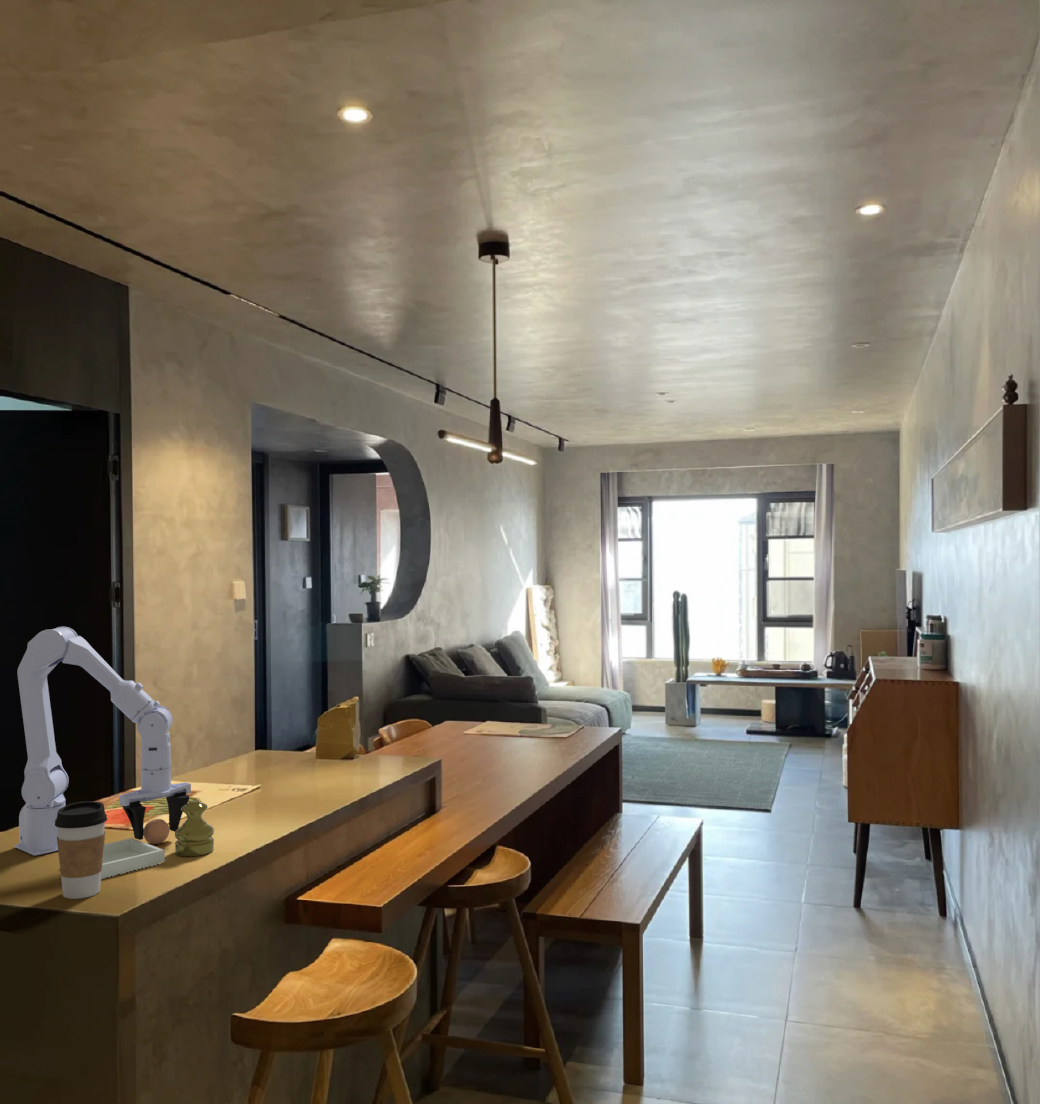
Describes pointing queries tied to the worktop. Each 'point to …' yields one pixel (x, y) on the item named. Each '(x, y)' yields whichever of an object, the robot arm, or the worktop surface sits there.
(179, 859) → the worktop surface
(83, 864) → the coffee cup
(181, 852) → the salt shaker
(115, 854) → the tray
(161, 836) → the ball
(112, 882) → the worktop surface
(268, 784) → the worktop surface
